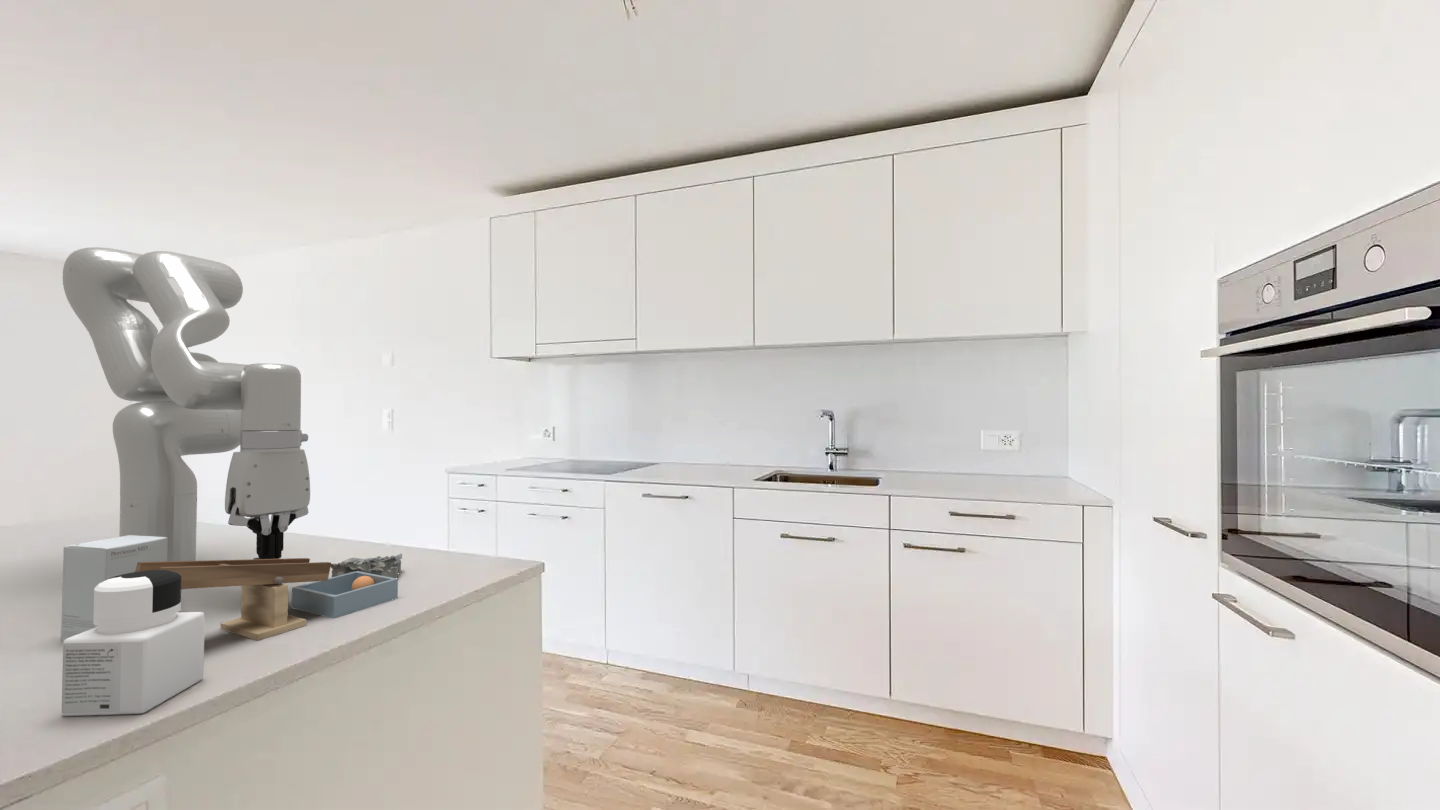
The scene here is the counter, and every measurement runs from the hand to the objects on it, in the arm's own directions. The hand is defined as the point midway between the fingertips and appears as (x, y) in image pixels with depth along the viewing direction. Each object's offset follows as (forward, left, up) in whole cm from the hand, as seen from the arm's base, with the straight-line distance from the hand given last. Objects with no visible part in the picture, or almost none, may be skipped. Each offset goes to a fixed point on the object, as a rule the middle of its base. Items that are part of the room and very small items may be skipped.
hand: (269, 557), depth 91 cm
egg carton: (+1, +15, -8) cm, 17 cm away
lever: (+6, -9, 0) cm, 11 cm away
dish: (+11, +5, -8) cm, 14 cm away
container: (+21, -23, -7) cm, 32 cm away
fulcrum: (+11, -6, -7) cm, 14 cm away
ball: (+11, +8, -5) cm, 14 cm away
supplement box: (-4, -16, -7) cm, 18 cm away
